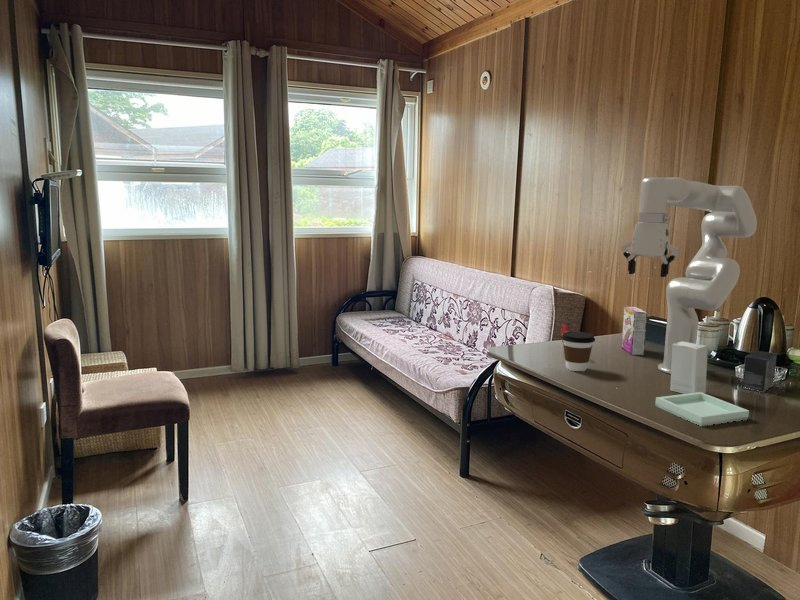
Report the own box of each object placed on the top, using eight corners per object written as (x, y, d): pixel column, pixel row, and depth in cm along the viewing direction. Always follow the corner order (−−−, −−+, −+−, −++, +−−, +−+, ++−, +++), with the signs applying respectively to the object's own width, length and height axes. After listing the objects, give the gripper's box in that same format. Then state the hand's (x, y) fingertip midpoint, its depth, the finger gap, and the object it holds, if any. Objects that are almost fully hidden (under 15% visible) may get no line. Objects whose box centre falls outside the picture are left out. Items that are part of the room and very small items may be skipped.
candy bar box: (620, 347, 233) (623, 306, 231) (633, 348, 233) (636, 306, 231) (630, 355, 222) (634, 311, 220) (644, 355, 222) (648, 312, 220)
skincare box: (705, 394, 178) (710, 345, 176) (694, 398, 175) (698, 348, 172) (679, 387, 185) (683, 340, 183) (667, 390, 182) (672, 342, 179)
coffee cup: (552, 367, 205) (554, 333, 203) (573, 363, 211) (575, 329, 209) (578, 375, 196) (581, 339, 194) (599, 370, 202) (602, 335, 200)
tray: (699, 400, 173) (700, 392, 172) (748, 419, 158) (749, 410, 158) (655, 406, 168) (655, 397, 167) (700, 426, 153) (701, 417, 152)
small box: (751, 381, 192) (754, 349, 190) (774, 385, 188) (778, 353, 186) (740, 388, 185) (744, 355, 183) (764, 393, 180) (768, 359, 178)
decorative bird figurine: (564, 348, 232) (565, 322, 231) (583, 360, 215) (585, 332, 213) (556, 348, 232) (558, 322, 230) (576, 360, 215) (577, 333, 213)
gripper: (686, 219, 178) (681, 276, 181) (628, 218, 190) (624, 271, 193) (677, 220, 173) (672, 279, 176) (618, 218, 185) (614, 273, 188)
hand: (647, 275), depth 184 cm, fingers open, 9 cm apart
